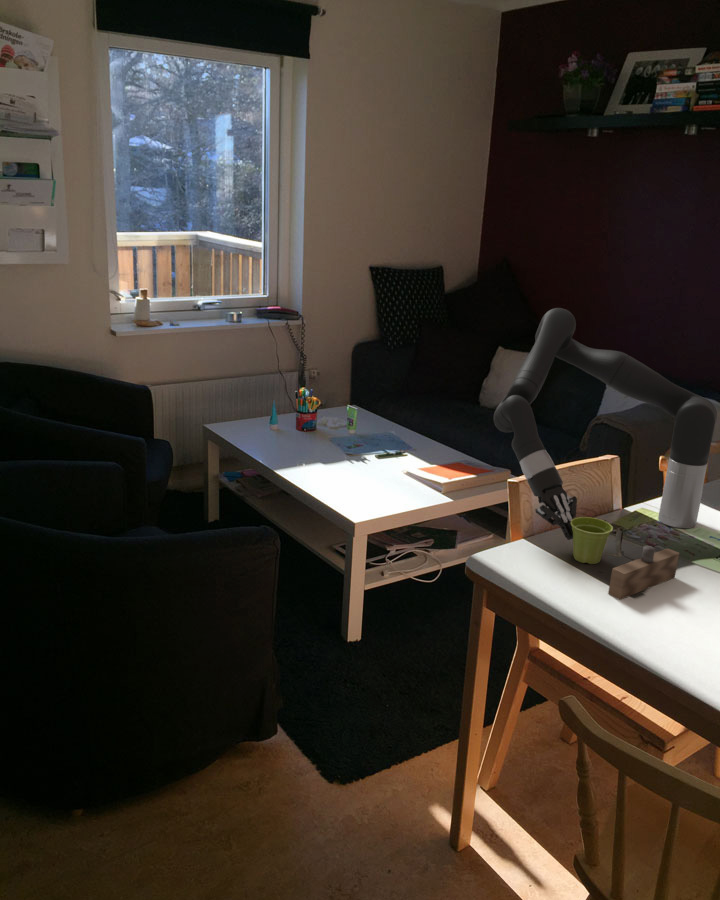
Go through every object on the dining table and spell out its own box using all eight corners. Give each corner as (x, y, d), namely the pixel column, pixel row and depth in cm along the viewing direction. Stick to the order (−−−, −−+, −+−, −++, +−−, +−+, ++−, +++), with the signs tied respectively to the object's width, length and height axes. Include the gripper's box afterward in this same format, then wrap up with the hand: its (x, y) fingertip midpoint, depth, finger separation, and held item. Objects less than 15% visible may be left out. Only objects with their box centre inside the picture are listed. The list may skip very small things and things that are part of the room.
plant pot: (587, 571, 181) (593, 536, 178) (557, 554, 188) (562, 520, 186) (615, 563, 186) (621, 528, 183) (584, 547, 193) (590, 514, 190)
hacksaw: (598, 522, 210) (599, 517, 209) (639, 530, 206) (640, 524, 206) (591, 559, 188) (591, 553, 187) (636, 568, 185) (637, 562, 184)
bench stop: (663, 572, 182) (669, 535, 180) (674, 577, 180) (681, 540, 177) (608, 593, 171) (614, 555, 168) (619, 599, 169) (626, 561, 166)
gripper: (549, 474, 200) (580, 538, 195) (512, 484, 193) (543, 550, 188) (568, 461, 195) (601, 526, 190) (531, 470, 187) (564, 538, 182)
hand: (572, 538), depth 189 cm, fingers closed
